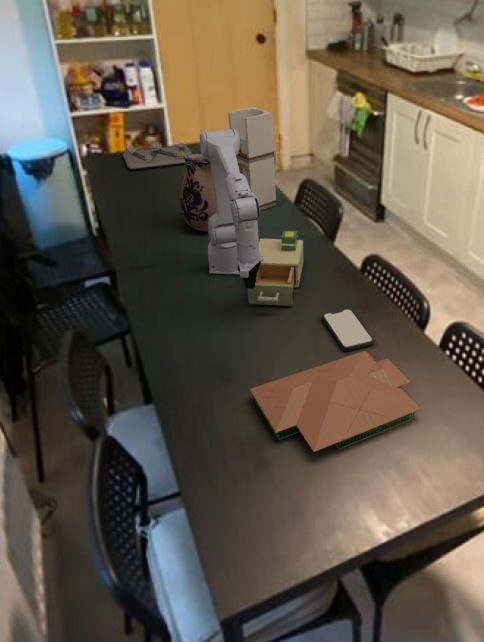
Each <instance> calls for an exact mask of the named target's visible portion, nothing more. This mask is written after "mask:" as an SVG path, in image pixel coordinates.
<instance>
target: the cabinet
mask: <svg viewBox="0 0 484 642" xmlns="http://www.w3.org/2000/svg"><path fill="white" fill-rule="evenodd" d="M281 244H282V241H281V238H280V239H279V238H260V239H259V254H260V256H264V261H263V262H261V264H260V265H276V266H295V283H294V287H293V288H297V289H298V288H299V286H300V282H301V277H302V272H303V266H304V239H297V246H296V251H292V250H282V246H281Z"/></svg>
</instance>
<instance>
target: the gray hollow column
mask: <svg viewBox="0 0 484 642" xmlns="http://www.w3.org/2000/svg"><path fill="white" fill-rule="evenodd" d="M273 116H274V113H273V112H271V111H267V110H266V109H265V110H264V109H261V108H258V107H256V106H253V107H248V108H242V109H237V110H232V111H228V125H229V129H235V130H236V131H237V132H238V135H239V140H240V149H239V151H238V154H237V155H236V158H237V163H238V164H241V166H242V174H243V175H245V176H246V179H247V182H248V184H249V187H250V190H251V193H254V195H255V196H256V197H257V199H258V202H259V207H260V211H262V210H263V211H264V210H266V209H269V208H273V207H275V206H277V195H276V194H277V192H276V168H275V163H276V162H275V143H274V117H273Z"/></svg>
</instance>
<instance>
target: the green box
mask: <svg viewBox="0 0 484 642" xmlns="http://www.w3.org/2000/svg"><path fill="white" fill-rule="evenodd" d="M298 237H299V235H298V230H283V231H282V234H281V238H280V239H281V241H282V244H281V246H282V250H292V251H296V246H297V240H298Z"/></svg>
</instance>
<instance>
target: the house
mask: <svg viewBox="0 0 484 642" xmlns="http://www.w3.org/2000/svg"><path fill="white" fill-rule="evenodd" d="M410 383H411V381H410V380H409V379H408V378H407V377H406V376H405V374H403V372H401V370H399V369H398V367H396V365H394V363H393V362H392V361H391V360H390V359H388V358H383V359H381V360H378V361H376V360H375V359H374V358H373V356H371V354H369V353H368V351H366V350H363V351H360V352H356V353H354V354H351V355H348V356H344V357H341V358H339V359H336V360H333V361H330V362H327V363H324V364H321V365H318V366H315V367H311V368H308V369H306V370H302V371H300V372H296V373H294V374H290V375H288V376H284V377H281V378H278V379H275V380H273V381H269V382H266V383H263V384H260V385H256V386H254V387H251V388H249V391H250V393H251V394H252V396H253V397H254V402H255V404H256V406H258V408H259V410H260V411H261V413H262V414H263V416H264V418H265V419H266V421H267V423H268V424H269V426H270V428H271V430H272V431H273V433H274V434H275V436H276V437H277V439H278V440H283V439H285V438H287V437H290V436H293V435H295V434H298V433H300V434H301V435H302V437H303V438H304V439H305V441H306V443H307V444H308V445H309V447H310V448H311V450H312V452H313V453H315V452H318V451H320V450H323V449H326V448H328V447H331V446H333V445H335V446H336V447H337V448H338V450H341V449H343V448H346V447H348V446H351V445H353V444H356V443H358V442H360V441H363V440H365V439H368V438H370V437H373V436H375V435H378V434H380V433H382V432H385V431H388V430H390V429H393V428H396V427H397V426H400V425H402V424H405V423H408V422H409V421H412V420H414V419H415V413H416V412H418V411H421V407H420V406H418V404H417V403H416V402H415V401H414V400H413V399H412V398H411V397H410V396H409V395H408V394H407V393H406V391H404V390H403V389H402V388H401V387H402V386H403V387H404V386H405V385H407V384H410ZM407 417H410V418H408V420H407V419H404V418H407ZM401 419H404V420H405V421H404V420H402V421H401ZM398 421H399V424H398ZM395 422H396V423H395ZM392 423H393V424H392ZM388 425H389V428H386V429H383V430H382V427H385V426H386V427H388ZM294 429H295V431H294ZM291 430H292V433H290V434H289V435H288V433H287V431H291ZM374 430H375V433H373V434H372V435H371V434H369V435H368V433H370V432H373V431H374ZM284 433H285V436H282V437H281V436H280V434H284ZM365 434H366V435H365ZM361 435H362V437H363V438H360V439H359V440H358V437H360V436H361ZM364 435H365V437H364ZM280 437H281V438H280ZM355 438H356V440H354V439H355ZM348 440H349V441H350V440H352V441H353V442H351V443H348ZM344 442H345V445H343V446H342V447H341V443H344Z"/></svg>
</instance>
